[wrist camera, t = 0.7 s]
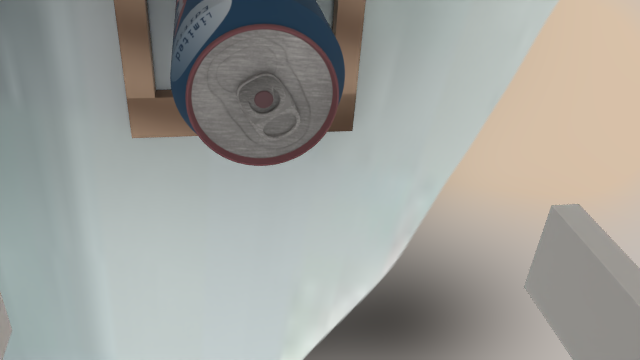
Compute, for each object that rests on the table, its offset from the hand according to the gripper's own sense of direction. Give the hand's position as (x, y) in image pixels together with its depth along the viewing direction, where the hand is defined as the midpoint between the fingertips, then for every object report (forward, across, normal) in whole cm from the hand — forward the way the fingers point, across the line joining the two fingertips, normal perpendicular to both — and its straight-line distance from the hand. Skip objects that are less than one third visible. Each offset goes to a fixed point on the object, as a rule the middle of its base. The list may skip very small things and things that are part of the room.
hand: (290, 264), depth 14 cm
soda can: (+22, 0, 0) cm, 22 cm away
